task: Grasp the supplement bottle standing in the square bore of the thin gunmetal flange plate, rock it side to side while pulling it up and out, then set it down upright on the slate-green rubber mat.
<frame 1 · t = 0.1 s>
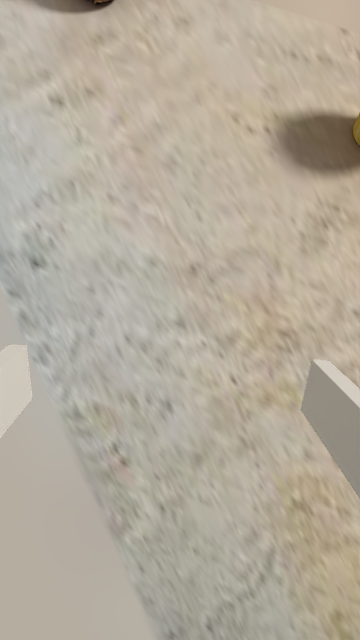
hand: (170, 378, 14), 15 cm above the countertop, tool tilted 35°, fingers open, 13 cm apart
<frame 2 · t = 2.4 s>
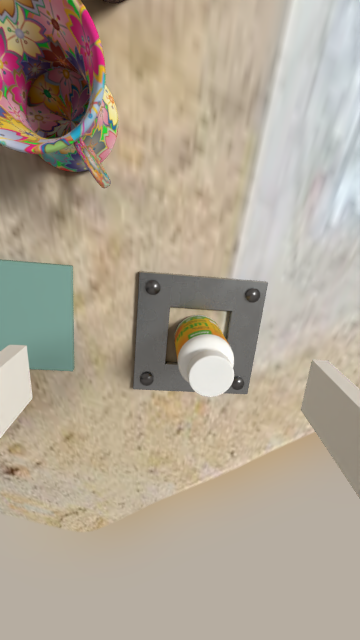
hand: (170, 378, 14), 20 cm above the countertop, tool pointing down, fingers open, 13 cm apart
mat: (16, 316, 32), on the countertop
supplement bottle: (196, 335, 35), resting in flange plate
flange plate: (197, 336, 34), on the countertop
mug: (82, 137, 28), on the countertop
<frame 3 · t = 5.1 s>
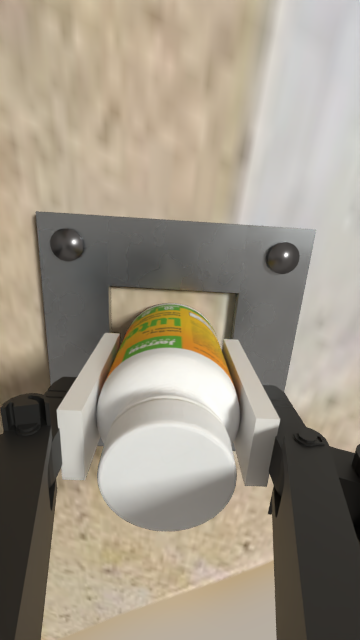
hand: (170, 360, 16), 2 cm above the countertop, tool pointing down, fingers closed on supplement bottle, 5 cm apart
supplement bottle: (171, 343, 18), resting in flange plate, touching gripper
flange plate: (171, 345, 18), on the countertop
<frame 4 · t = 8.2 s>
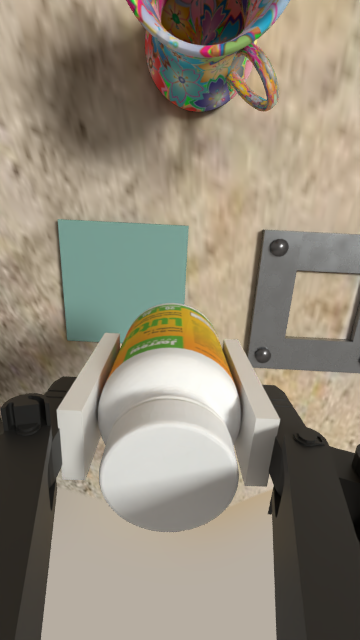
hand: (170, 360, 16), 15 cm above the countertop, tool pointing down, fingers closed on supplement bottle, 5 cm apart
mat: (125, 285, 30), on the countertop
supplement bottle: (171, 343, 18), point 13 cm above the countertop, touching gripper
flange plate: (323, 305, 30), on the countertop
mug: (209, 71, 24), on the countertop
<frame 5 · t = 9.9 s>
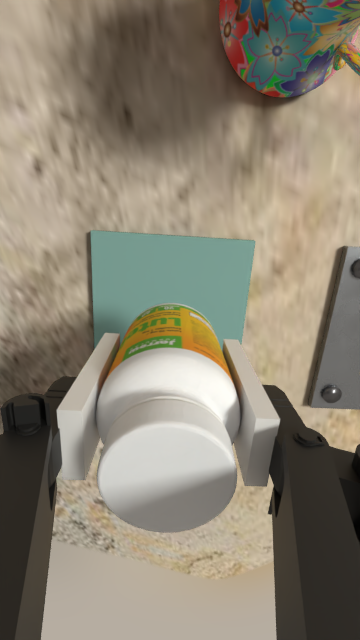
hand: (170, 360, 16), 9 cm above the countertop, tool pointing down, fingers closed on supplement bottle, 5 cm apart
mat: (169, 312, 24), on the countertop
supplement bottle: (171, 343, 18), point 7 cm above the countertop, touching gripper
mug: (294, 46, 19), on the countertop
when the fingers open (3 cm above the countertop, at t = 11.2 s): supplement bottle stays where it is, resting on mat.
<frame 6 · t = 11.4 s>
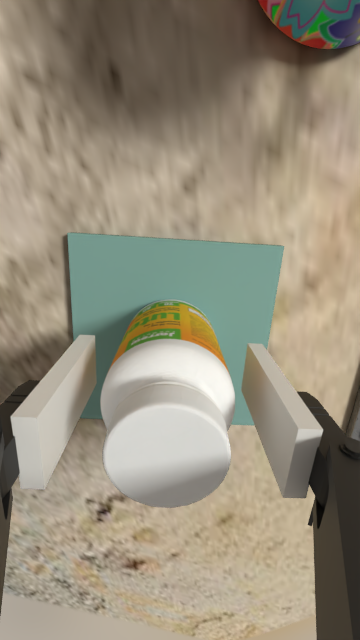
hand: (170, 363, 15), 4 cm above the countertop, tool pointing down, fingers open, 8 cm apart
mat: (171, 336, 19), on the countertop
supplement bottle: (170, 338, 18), resting on mat
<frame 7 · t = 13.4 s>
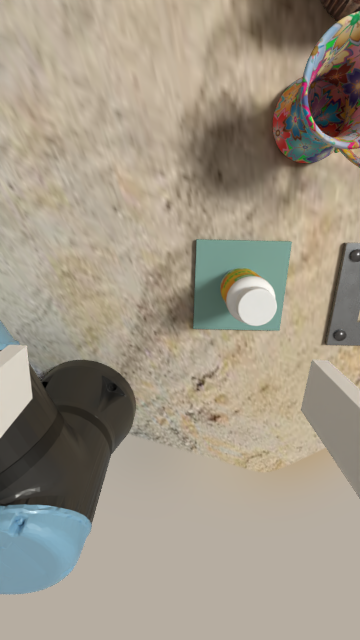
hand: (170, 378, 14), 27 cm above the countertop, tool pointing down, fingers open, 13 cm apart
mat: (239, 286, 40), on the countertop
supplement bottle: (239, 286, 39), resting on mat
mug: (312, 134, 34), on the countertop
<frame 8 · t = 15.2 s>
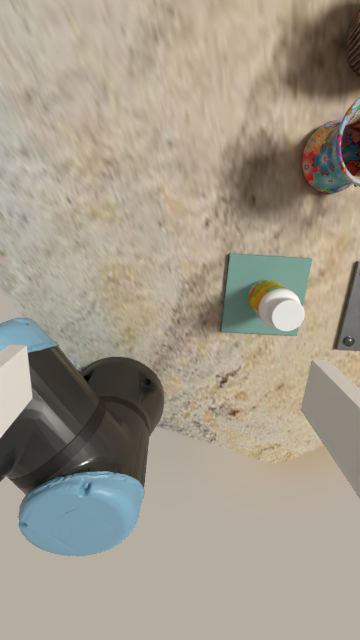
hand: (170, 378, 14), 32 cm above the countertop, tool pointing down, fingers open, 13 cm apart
mat: (263, 295, 45), on the countertop
supplement bottle: (264, 296, 45), resting on mat
mug: (334, 168, 40), on the countertop
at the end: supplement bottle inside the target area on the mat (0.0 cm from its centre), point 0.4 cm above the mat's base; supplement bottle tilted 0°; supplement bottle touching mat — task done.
